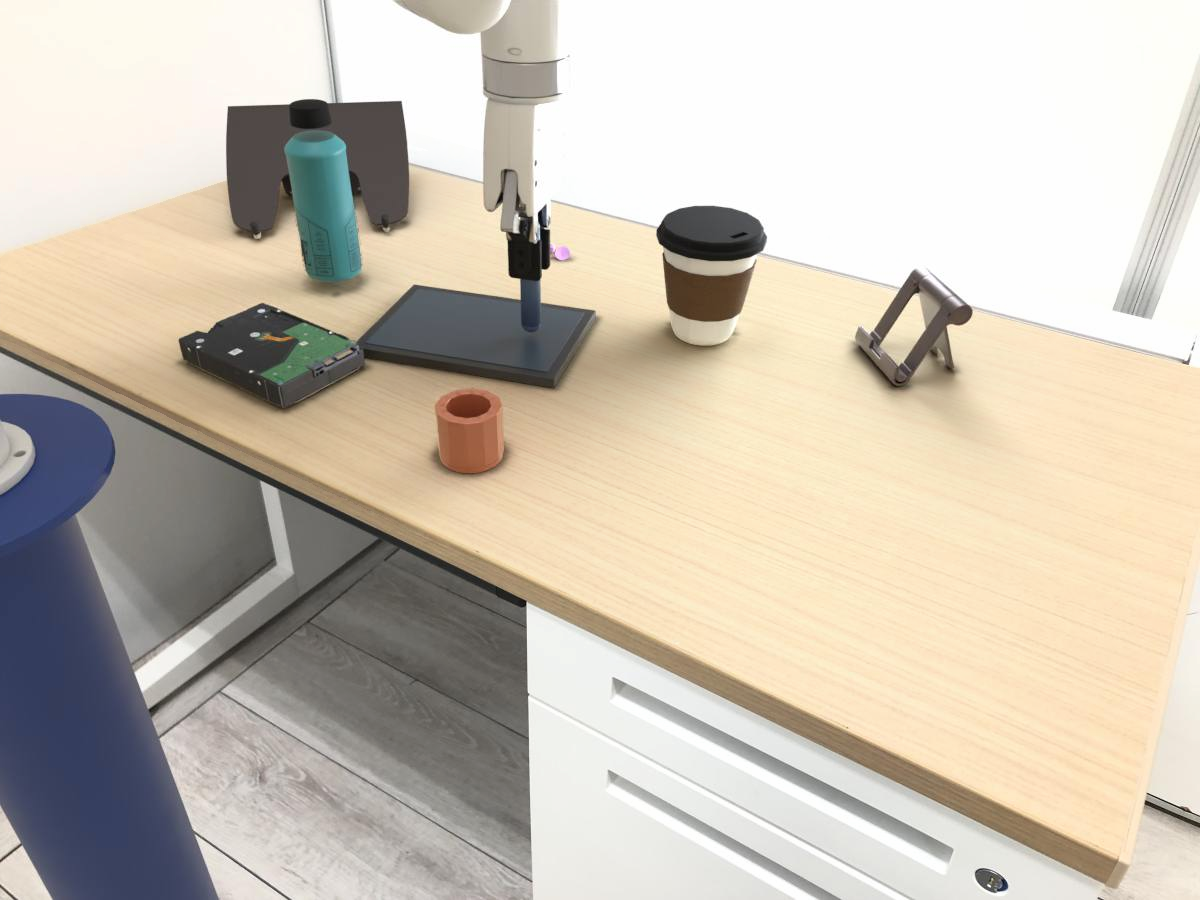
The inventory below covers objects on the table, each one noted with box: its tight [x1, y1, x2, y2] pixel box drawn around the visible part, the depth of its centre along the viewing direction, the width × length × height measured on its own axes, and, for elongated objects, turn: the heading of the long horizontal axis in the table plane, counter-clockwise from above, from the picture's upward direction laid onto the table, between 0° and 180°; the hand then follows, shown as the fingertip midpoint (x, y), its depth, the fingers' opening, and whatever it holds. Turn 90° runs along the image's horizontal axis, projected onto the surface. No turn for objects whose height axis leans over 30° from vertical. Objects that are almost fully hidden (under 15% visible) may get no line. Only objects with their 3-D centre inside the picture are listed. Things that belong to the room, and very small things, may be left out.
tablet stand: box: [854, 266, 974, 387], centre depth 94 cm, size 9×8×8 cm
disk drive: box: [178, 302, 365, 409], centre depth 92 cm, size 10×3×15 cm
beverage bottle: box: [284, 98, 363, 283], centre depth 103 cm, size 6×7×20 cm
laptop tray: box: [225, 100, 410, 240], centre depth 126 cm, size 23×23×9 cm
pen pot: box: [434, 387, 505, 474], centre depth 80 cm, size 5×5×5 cm
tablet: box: [356, 284, 597, 389], centre depth 99 cm, size 15×21×1 cm
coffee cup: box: [655, 205, 768, 347], centre depth 98 cm, size 11×11×12 cm
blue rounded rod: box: [519, 218, 542, 332], centre depth 94 cm, size 2×2×12 cm
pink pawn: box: [550, 242, 571, 261], centre depth 116 cm, size 3×2×2 cm
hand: (529, 271), depth 93 cm, fingers closed on blue rounded rod, 2 cm apart
